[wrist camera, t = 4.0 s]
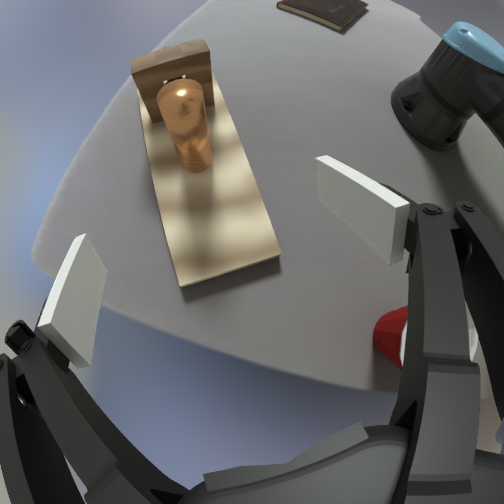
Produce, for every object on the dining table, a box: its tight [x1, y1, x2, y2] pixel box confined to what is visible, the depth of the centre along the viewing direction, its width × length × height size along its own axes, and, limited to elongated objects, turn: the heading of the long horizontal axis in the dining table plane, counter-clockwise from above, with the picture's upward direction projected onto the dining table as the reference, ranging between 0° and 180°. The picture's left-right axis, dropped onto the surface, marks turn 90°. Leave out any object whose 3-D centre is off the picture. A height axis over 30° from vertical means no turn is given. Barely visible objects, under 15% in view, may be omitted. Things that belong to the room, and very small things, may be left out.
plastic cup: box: [373, 301, 478, 370], centre depth 26 cm, size 11×11×12 cm
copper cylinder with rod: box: [157, 46, 213, 173], centre depth 27 cm, size 19×4×12 cm, turn 18°
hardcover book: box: [277, 0, 368, 31], centre depth 44 cm, size 16×23×2 cm
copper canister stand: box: [130, 38, 282, 287], centre depth 29 cm, size 32×12×12 cm, turn 18°
